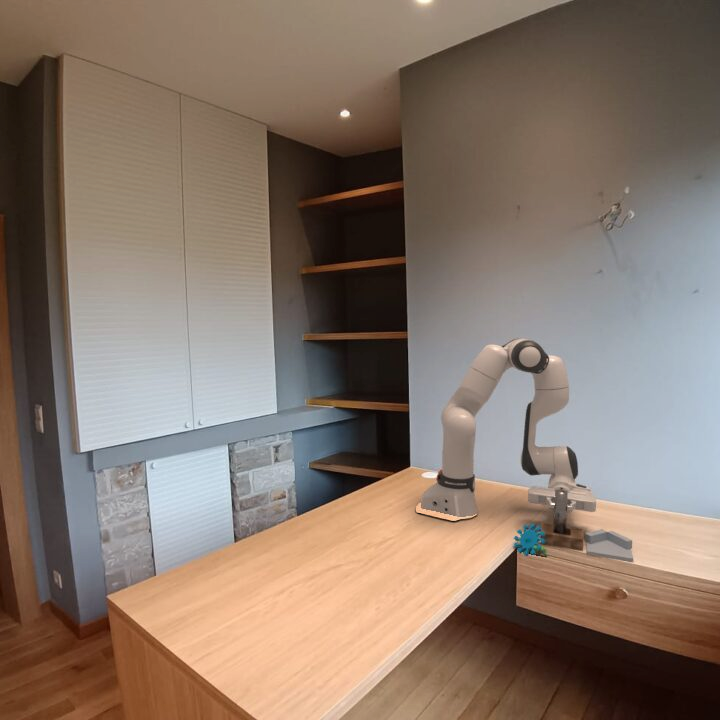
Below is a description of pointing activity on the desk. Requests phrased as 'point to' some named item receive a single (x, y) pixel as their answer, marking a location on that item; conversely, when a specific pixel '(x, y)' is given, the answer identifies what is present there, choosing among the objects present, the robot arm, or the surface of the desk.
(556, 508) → the axle
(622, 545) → the v block
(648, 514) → the desk surface
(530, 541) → the blue spiky virus model
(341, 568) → the desk surface
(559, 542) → the brown slotted block
